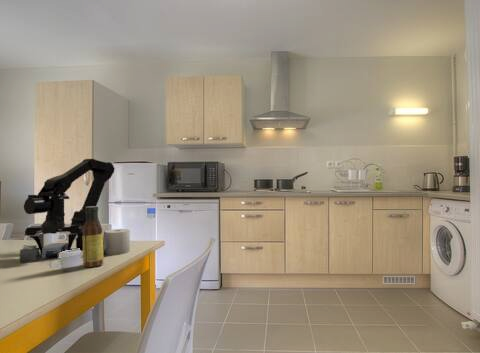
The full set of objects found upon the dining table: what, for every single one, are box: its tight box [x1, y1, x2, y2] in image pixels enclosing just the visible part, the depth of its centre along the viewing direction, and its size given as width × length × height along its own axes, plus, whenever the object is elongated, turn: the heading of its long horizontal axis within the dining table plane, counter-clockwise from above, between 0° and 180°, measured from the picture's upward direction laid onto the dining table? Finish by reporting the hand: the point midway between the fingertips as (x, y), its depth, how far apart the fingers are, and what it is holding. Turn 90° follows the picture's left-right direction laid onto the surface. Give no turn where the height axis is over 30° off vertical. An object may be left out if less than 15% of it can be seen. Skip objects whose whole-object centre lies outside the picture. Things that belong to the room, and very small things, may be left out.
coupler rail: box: [19, 245, 42, 264], centre depth 115 cm, size 5×14×5 cm, turn 15°
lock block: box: [41, 242, 68, 261], centre depth 118 cm, size 6×9×4 cm
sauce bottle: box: [82, 205, 104, 268], centre depth 104 cm, size 6×6×20 cm
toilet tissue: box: [103, 228, 131, 256], centre depth 122 cm, size 9×13×9 cm
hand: (55, 252), depth 118 cm, fingers open, 9 cm apart
